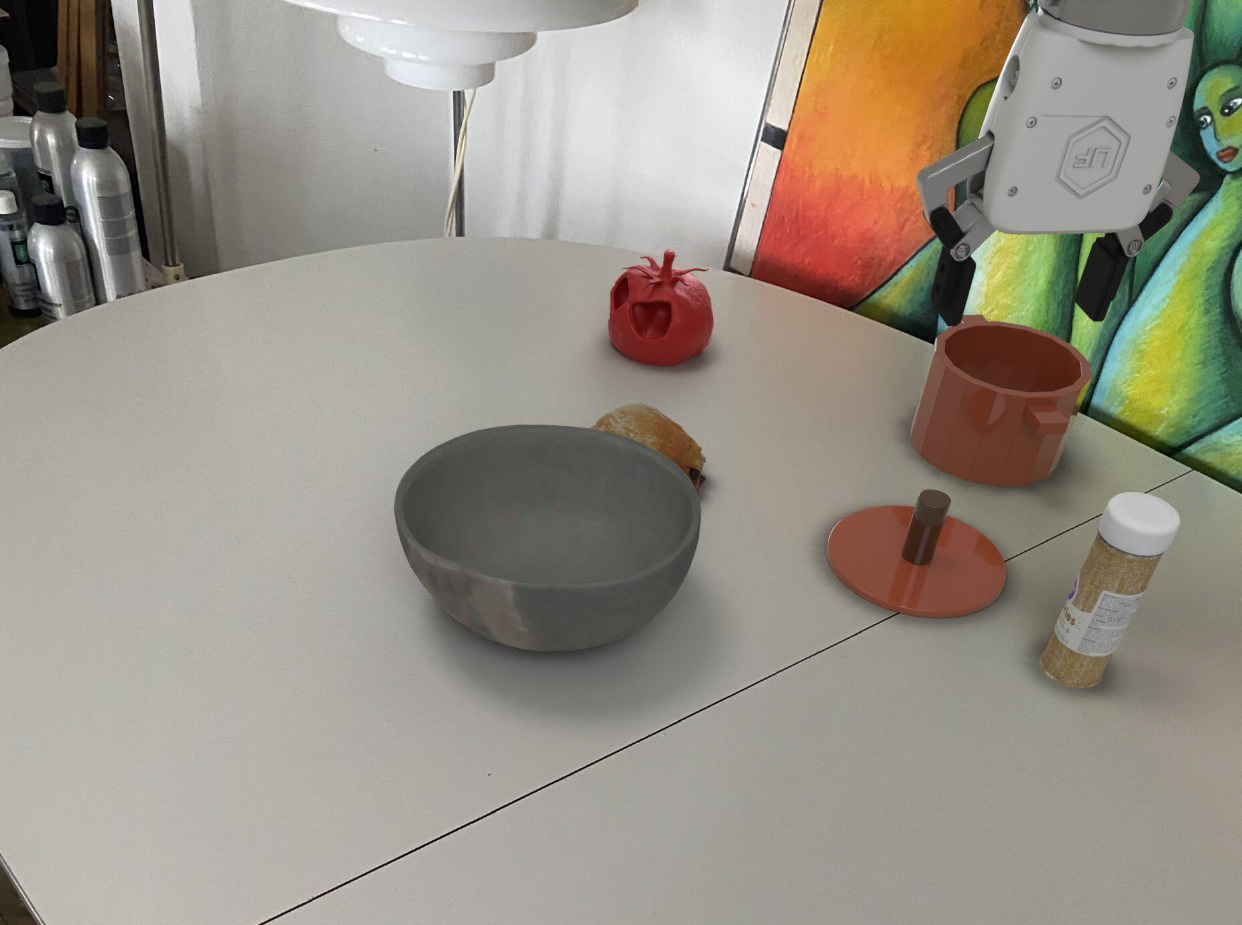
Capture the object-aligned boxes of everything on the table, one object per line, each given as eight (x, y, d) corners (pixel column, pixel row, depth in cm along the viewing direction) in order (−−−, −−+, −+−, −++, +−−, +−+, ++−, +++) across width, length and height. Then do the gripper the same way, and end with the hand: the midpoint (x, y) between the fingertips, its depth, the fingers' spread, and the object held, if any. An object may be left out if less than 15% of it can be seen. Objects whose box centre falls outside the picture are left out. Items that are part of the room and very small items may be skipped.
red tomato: (667, 318, 117) (677, 217, 110) (730, 363, 112) (746, 260, 105) (582, 340, 113) (588, 237, 106) (644, 387, 108) (654, 282, 101)
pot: (1008, 397, 112) (1039, 305, 105) (1092, 507, 100) (1133, 412, 94) (879, 400, 109) (903, 307, 103) (950, 514, 98) (982, 416, 92)
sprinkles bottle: (1031, 650, 87) (1102, 485, 77) (1095, 657, 87) (1174, 493, 77) (1041, 692, 84) (1116, 526, 74) (1106, 699, 84) (1190, 534, 74)
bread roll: (616, 483, 104) (584, 395, 99) (727, 462, 99) (698, 369, 94) (577, 544, 98) (540, 453, 93) (693, 525, 93) (660, 429, 88)
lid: (963, 514, 98) (986, 445, 93) (1030, 619, 89) (1059, 548, 85) (803, 521, 96) (819, 451, 91) (855, 630, 87) (876, 558, 83)
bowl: (737, 599, 89) (759, 478, 81) (581, 754, 77) (591, 629, 69) (515, 501, 95) (517, 380, 88) (341, 630, 83) (326, 503, 76)
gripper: (990, 14, 60) (907, 347, 73) (1302, 16, 63) (1169, 338, 76) (938, -29, 65) (869, 291, 78) (1230, -25, 68) (1116, 284, 80)
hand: (1017, 314), depth 77 cm, fingers open, 9 cm apart
